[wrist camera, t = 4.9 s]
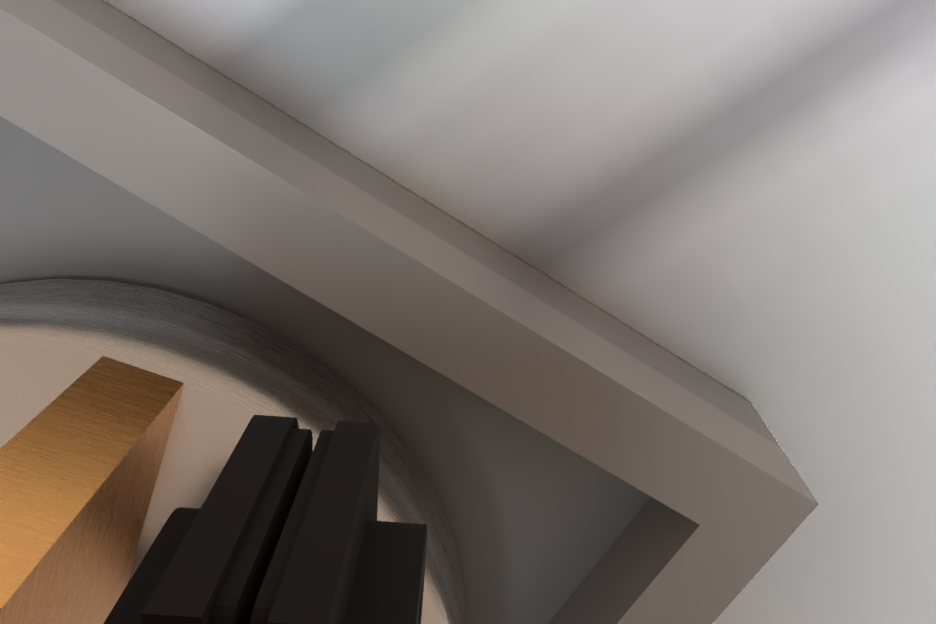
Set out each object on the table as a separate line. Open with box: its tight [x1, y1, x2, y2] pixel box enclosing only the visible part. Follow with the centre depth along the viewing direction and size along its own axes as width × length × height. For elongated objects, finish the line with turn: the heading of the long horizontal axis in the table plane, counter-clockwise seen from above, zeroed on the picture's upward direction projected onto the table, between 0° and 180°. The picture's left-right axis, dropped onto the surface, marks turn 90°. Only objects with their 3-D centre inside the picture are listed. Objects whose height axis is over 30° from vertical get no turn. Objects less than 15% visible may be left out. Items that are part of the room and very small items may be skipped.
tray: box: [0, 0, 818, 624], centre depth 18 cm, size 20×18×4 cm
